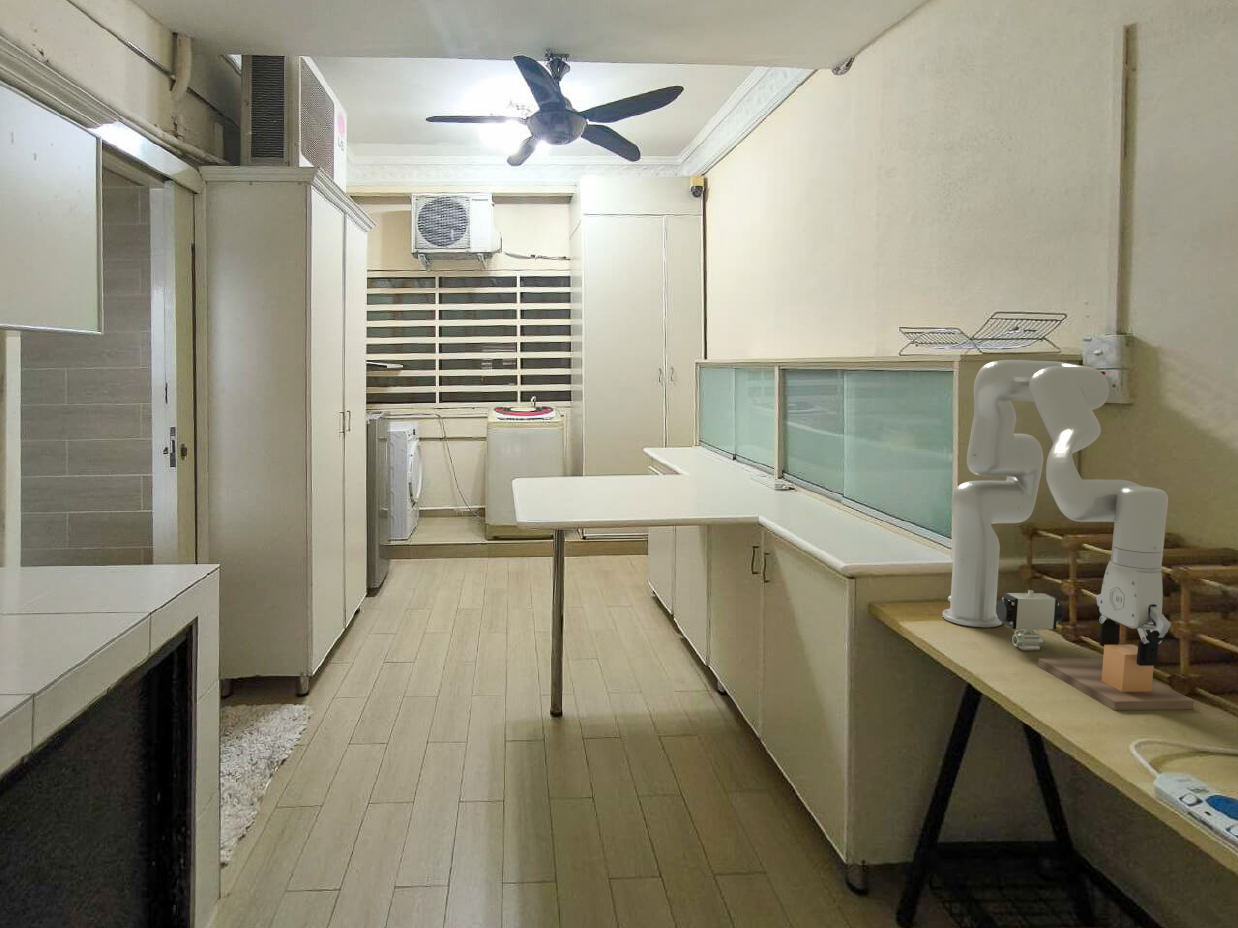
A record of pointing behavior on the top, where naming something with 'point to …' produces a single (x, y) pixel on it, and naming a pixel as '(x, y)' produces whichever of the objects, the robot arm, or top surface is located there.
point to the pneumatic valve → (1029, 616)
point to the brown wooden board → (1088, 680)
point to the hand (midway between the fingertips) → (1126, 655)
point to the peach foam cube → (1125, 669)
